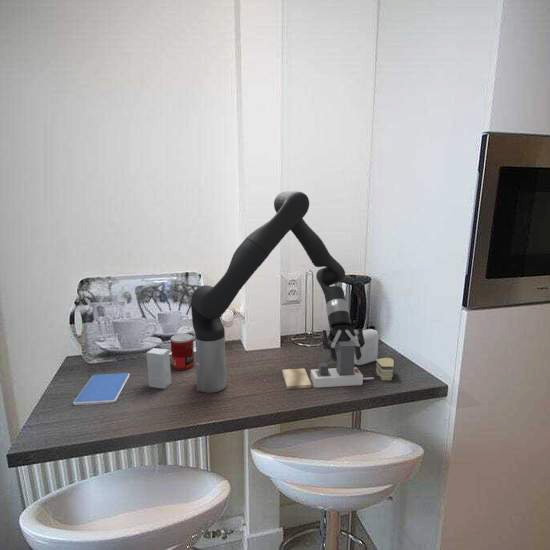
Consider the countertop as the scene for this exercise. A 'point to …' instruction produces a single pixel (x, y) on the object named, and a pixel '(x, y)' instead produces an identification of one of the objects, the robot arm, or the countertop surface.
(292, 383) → the board
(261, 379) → the countertop surface
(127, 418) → the countertop surface
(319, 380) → the power strip
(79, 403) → the tablet computer
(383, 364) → the yellow layered block
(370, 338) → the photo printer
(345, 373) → the block
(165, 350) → the skincare box
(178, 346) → the canned food
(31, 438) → the countertop surface
